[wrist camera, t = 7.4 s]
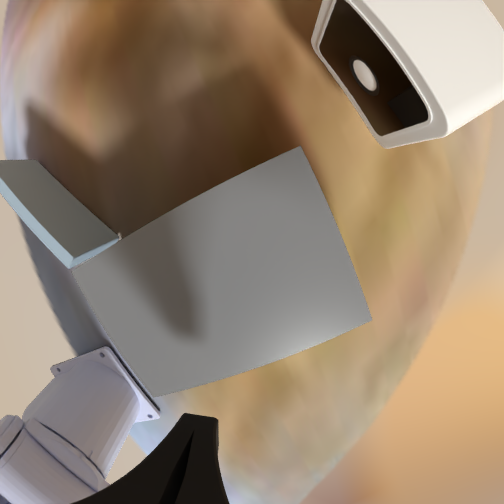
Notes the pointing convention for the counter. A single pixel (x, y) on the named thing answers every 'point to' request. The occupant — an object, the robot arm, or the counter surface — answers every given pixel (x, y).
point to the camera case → (227, 280)
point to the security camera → (413, 63)
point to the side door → (53, 212)
